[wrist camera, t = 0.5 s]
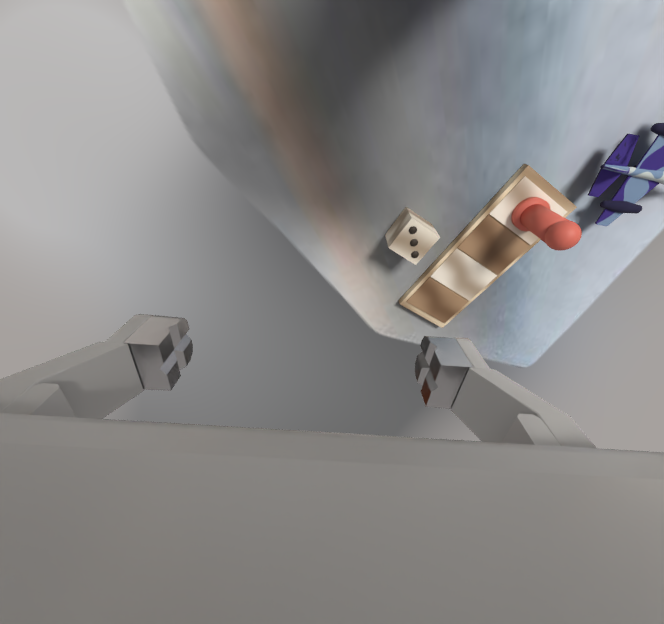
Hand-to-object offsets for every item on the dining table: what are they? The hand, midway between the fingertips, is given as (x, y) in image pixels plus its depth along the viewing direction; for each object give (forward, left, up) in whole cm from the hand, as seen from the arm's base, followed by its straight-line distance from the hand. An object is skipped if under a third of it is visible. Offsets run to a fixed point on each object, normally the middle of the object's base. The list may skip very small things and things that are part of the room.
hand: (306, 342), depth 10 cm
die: (+3, +14, -36) cm, 39 cm away
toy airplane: (-19, +34, -37) cm, 54 cm away
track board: (+1, +26, -36) cm, 45 cm away
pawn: (-8, +26, -35) cm, 44 cm away
